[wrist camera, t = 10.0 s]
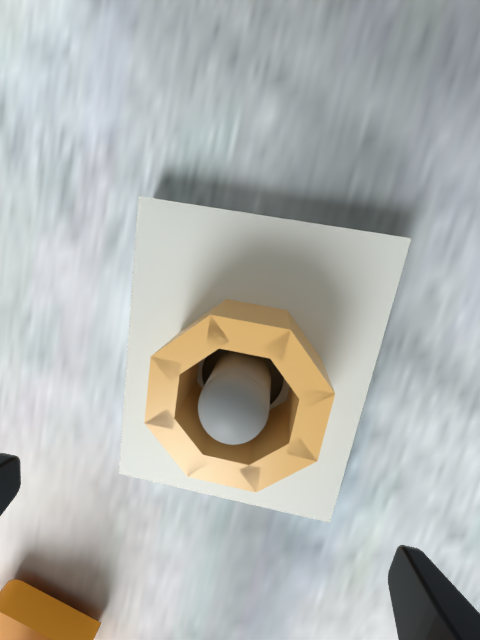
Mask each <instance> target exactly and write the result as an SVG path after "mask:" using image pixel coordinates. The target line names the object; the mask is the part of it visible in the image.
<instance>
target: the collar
mask: <svg viewBox="0 0 480 640" xmlns="http://www.w3.org/2000/svg"><path fill="white" fill-rule="evenodd" d="M217 349H224V350H229V351H234V352H240V353H245V354H250V355H255V356H260V357H265V358H270V359H271V360H272V362H273V363H274V364H275V366H276V367H277V369H278V370H279V371H280V373H281V374H282V376H283V377H284V378H285V380H286V381H287V383H288V384H289V385H290V387H289V392H288V396H287V400H286V401H284V402H282V403H280V404H279V405H277V406H275V407H274V408H272V409H270V410H269V416H268V420H267V422H266V424H265V426H264V428H263V429H262V431H261V432H260V433H259V434H258V435H257V436H256V437H255V438H253V439H252V440H250V441H248V442H246V443H243V444H237V445H230V444H224V443H221V442H219V441H217V440H215V439H214V438H212V437H211V436H210V435H209V434H208V433H207V432H206V431H205V429H204V428H203V426H202V424H201V422H200V419H199V414H198V401H199V397H200V394H201V391H202V390H203V389H202V387H201V386H200V385H199V384H198V382H197V377H198V369H199V362H200V361H201V360H202V359H204V358H205V357H207V356H208V355H210V354H211V353H213V352H214V351H216V350H217ZM334 397H335V392H334V389H333V387H332V384H331V382H330V379H329V377H328V374H327V372H326V369H325V367H324V364H323V361H322V359H321V358H320V356H319V355H318V354H317V352H316V351H315V349H314V348H313V346H312V345H311V343H310V342H309V341H308V339H307V338H306V336H305V335H304V333H303V332H302V330H301V329H300V328H299V326H298V325H297V323H296V322H295V320H294V319H293V317H292V316H291V315H290V313H289V312H288V310H284V309H278V308H273V307H267V306H262V305H256V304H251V303H245V302H240V301H234V300H229V299H226V300H224V301H223V302H221V303H220V304H218V305H217V306H216V307H214V308H213V309H211V310H210V311H209V312H207V313H206V314H204V315H203V316H201V317H200V318H199V319H197V320H196V321H194V322H193V323H192V324H190V325H189V326H187V327H186V328H184V329H183V330H182V331H180V332H179V333H178V334H177V335H175V336H174V337H173V338H172V339H171V340H169V341H168V342H167V343H166V344H165V345H164V346H162V347H161V348H160V349H159V350H158V351H157V352H155V353H154V354H153V355H152V356H151V358H150V369H149V379H148V389H147V400H146V410H145V421H144V423H145V425H146V426H147V427H148V428H149V430H150V431H151V432H152V433H153V435H154V436H155V437H156V438H157V440H158V441H159V442H160V443H161V444H162V446H163V447H164V448H165V449H166V451H167V452H168V453H169V454H170V456H171V457H172V458H173V459H174V461H175V462H176V463H177V464H178V466H179V467H180V468H181V469H182V471H183V472H184V473H185V474H186V476H187V477H191V478H196V479H200V480H204V481H208V482H213V483H217V484H221V485H226V486H230V487H234V488H239V489H243V490H247V491H251V492H258V491H260V490H262V489H264V488H266V487H268V486H270V485H272V484H274V483H276V482H278V481H280V480H282V479H284V478H286V477H288V476H290V475H291V474H293V473H295V472H297V471H299V470H301V469H303V468H305V467H307V466H309V465H311V464H313V463H315V462H317V461H318V457H319V454H320V450H321V446H322V442H323V438H324V435H325V431H326V427H327V423H328V419H329V416H330V412H331V408H332V404H333V400H334Z"/></svg>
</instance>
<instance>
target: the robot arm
mask: <svg viewBox="0 0 480 640" xmlns="http://www.w3.org/2000/svg"><path fill="white" fill-rule="evenodd" d="M20 485H21V472H20V459H19V457H17V456H14V455H10V454H6V453H0V516H1V515H2V513H3V512H4V511H5V509H6V508H7V507H8V505H9V504H10V503H11V501H12V500H13V499H14V497H15V496H16V495H17V493H18V491H19V488H20ZM388 585H389V590H390V596H391V601H392V606H393V612H394V617H395V622H396V628H397V633H398V638H399V640H480V613H479V612H478V611H477V610H476V609H475V608H474V607H473V606H472V605H471V604H470V603H469V601H468V600H467V599H466V598H465V597H464V596H463V595H462V594H461V593H460V592H459V591H458V590H457V588H456V587H455V586H454V585H453V584H452V583H451V582H450V581H449V580H448V579H447V578H446V577H445V575H444V574H443V573H442V572H441V571H440V570H439V569H438V568H437V567H436V566H435V565H434V564H433V562H432V561H431V560H430V559H429V558H428V557H427V556H426V555H425V554H424V553H423V552H422V551H421V550H420V549H417V548H414V547H409V546H405V545H400V546H399V547H398V548H397V550H396V553H395V556H394V558H393V561H392V564H391V567H390V569H389V573H388Z"/></svg>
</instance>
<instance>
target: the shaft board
mask: <svg viewBox="0 0 480 640" xmlns="http://www.w3.org/2000/svg"><path fill="white" fill-rule="evenodd" d="M410 242H411V238H406V237H400V236H393V235H387V234H381V233H374V232H368V231H361V230H355V229H348V228H342V227H335V226H329V225H322V224H316V223H309V222H303V221H297V220H290V219H284V218H277V217H271V216H264V215H258V214H251V213H245V212H238V211H232V210H226V209H219V208H213V207H206V206H200V205H193V204H187V203H180V202H174V201H167V200H161V199H154V198H148V197H142V196H138V210H137V224H136V238H135V252H134V266H133V280H132V295H131V309H130V323H129V337H128V351H127V365H126V379H125V393H124V408H123V422H122V436H121V450H120V464H119V474H122V475H126V476H131V477H135V478H139V479H144V480H148V481H152V482H156V483H161V484H165V485H169V486H174V487H178V488H182V489H187V490H191V491H195V492H200V493H204V494H208V495H213V496H217V497H221V498H225V499H230V500H234V501H238V502H243V503H247V504H251V505H256V506H260V507H264V508H269V509H273V510H277V511H282V512H286V513H290V514H294V515H299V516H303V517H307V518H312V519H316V520H320V521H325V522H329V523H330V521H331V517H332V514H333V511H334V507H335V504H336V500H337V497H338V493H339V490H340V486H341V483H342V479H343V476H344V472H345V469H346V465H347V462H348V458H349V455H350V451H351V448H352V444H353V441H354V437H355V434H356V430H357V427H358V423H359V420H360V416H361V413H362V409H363V406H364V402H365V399H366V395H367V392H368V388H369V385H370V381H371V378H372V374H373V371H374V367H375V364H376V360H377V357H378V353H379V350H380V346H381V343H382V339H383V336H384V333H385V329H386V326H387V322H388V319H389V315H390V312H391V308H392V305H393V301H394V298H395V294H396V291H397V287H398V284H399V280H400V277H401V273H402V270H403V266H404V263H405V259H406V256H407V252H408V249H409V245H410ZM226 299H229V300H234V301H240V302H245V303H251V304H256V305H262V306H267V307H273V308H278V309H284V310H288V312H289V313H290V315H291V316H292V317H293V319H294V320H295V322H296V323H297V325H298V326H299V328H300V329H301V330H302V332H303V333H304V335H305V336H306V338H307V339H308V341H309V342H310V343H311V345H312V346H313V348H314V349H315V351H316V352H317V354H318V355H319V356H320V358H321V359H322V361H323V364H324V367H325V369H326V372H327V374H328V377H329V379H330V382H331V384H332V387H333V389H334V392H335V397H334V400H333V404H332V408H331V412H330V416H329V419H328V423H327V427H326V431H325V435H324V438H323V442H322V446H321V450H320V454H319V457H318V461H317V462H315V463H313V464H311V465H309V466H307V467H305V468H303V469H301V470H299V471H297V472H295V473H293V474H291V475H290V476H288V477H286V478H284V479H282V480H280V481H278V482H276V483H274V484H272V485H270V486H268V487H266V488H264V489H262V490H260V491H258V492H251V491H247V490H243V489H239V488H234V487H230V486H226V485H221V484H217V483H213V482H208V481H204V480H200V479H196V478H191V477H187V476H186V474H185V473H184V472H183V471H182V469H181V468H180V467H179V466H178V464H177V463H176V462H175V461H174V459H173V458H172V457H171V456H170V454H169V453H168V452H167V451H166V449H165V448H164V447H163V446H162V444H161V443H160V442H159V441H158V440H157V438H156V437H155V436H154V435H153V433H152V432H151V431H150V430H149V428H148V427H147V426H146V425H145V423H144V421H145V410H146V400H147V389H148V379H149V369H150V358H151V356H152V355H153V354H154V353H155V352H157V351H158V350H159V349H160V348H161V347H162V346H164V345H165V344H166V343H167V342H168V341H169V340H171V339H172V338H173V337H174V336H175V335H177V334H178V333H179V332H180V331H182V330H183V329H184V328H186V327H187V326H189V325H190V324H192V323H193V322H194V321H196V320H197V319H199V318H200V317H201V316H203V315H204V314H206V313H207V312H209V311H210V310H211V309H213V308H214V307H216V306H217V305H218V304H220V303H221V302H223V301H224V300H226ZM197 382H198V384H199V385H200V386H201V387H202V389H203V390H202V391H201V394H200V397H199V401H198V414H199V419H200V422H201V424H202V426H203V428H204V429H205V431H206V432H207V433H208V434H209V435H210V436H211V437H212V438H214V439H215V440H217V441H219V442H221V443H224V444H230V445H237V444H243V443H246V442H248V441H250V440H252V439H253V438H255V437H256V436H257V435H258V434H259V433H260V432H261V431H262V429H263V428H264V426H265V424H266V422H267V420H268V416H269V410H270V409H272V408H274V407H275V406H277V405H279V404H280V403H282V402H284V401H286V400H287V396H288V392H289V387H290V385H289V384H288V383H287V381H286V380H285V378H284V377H283V376H282V374H281V373H280V371H279V370H278V369H277V367H276V366H275V364H274V363H273V362H272V360H271V359H270V358H265V357H260V356H255V355H250V354H245V353H240V352H234V351H229V350H224V349H217V350H216V351H214V352H213V353H211V354H210V355H208V356H207V357H205V358H204V359H202V360H201V361H200V362H199V369H198V377H197Z"/></svg>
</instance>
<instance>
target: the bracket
mask: <svg viewBox="0 0 480 640" xmlns="http://www.w3.org/2000/svg"><path fill="white" fill-rule="evenodd" d="M100 624H101V623H100V622H99V621H97V620H95V619H93V618H91V617H89V616H87V615H85V614H83V613H82V612H80V611H78V610H76V609H74V608H72V607H70V606H68V605H66V604H65V603H63V602H61V601H59V600H57V599H55V598H53V597H51V596H49V595H48V594H46V593H44V592H42V591H40V590H38V589H36V588H34V587H32V586H31V585H29V584H27V583H25V582H23V581H21V580H10V581H9V582H8V583H7V584H6V585H5V586H4V588H3V589H2V590H1V591H0V640H93V639H94V637H95V635H96V633H97V631H98V629H99V627H100Z"/></svg>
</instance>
